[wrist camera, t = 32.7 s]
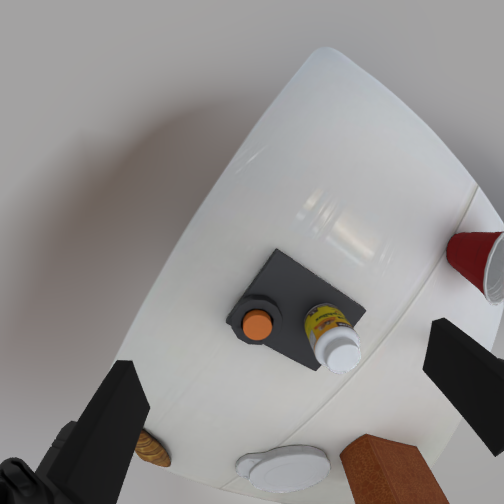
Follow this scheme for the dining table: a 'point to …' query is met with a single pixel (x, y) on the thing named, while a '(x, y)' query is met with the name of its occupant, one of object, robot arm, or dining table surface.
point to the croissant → (151, 450)
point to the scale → (289, 306)
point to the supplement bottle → (332, 338)
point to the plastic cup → (480, 261)
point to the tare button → (257, 324)
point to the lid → (284, 468)
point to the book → (389, 473)
